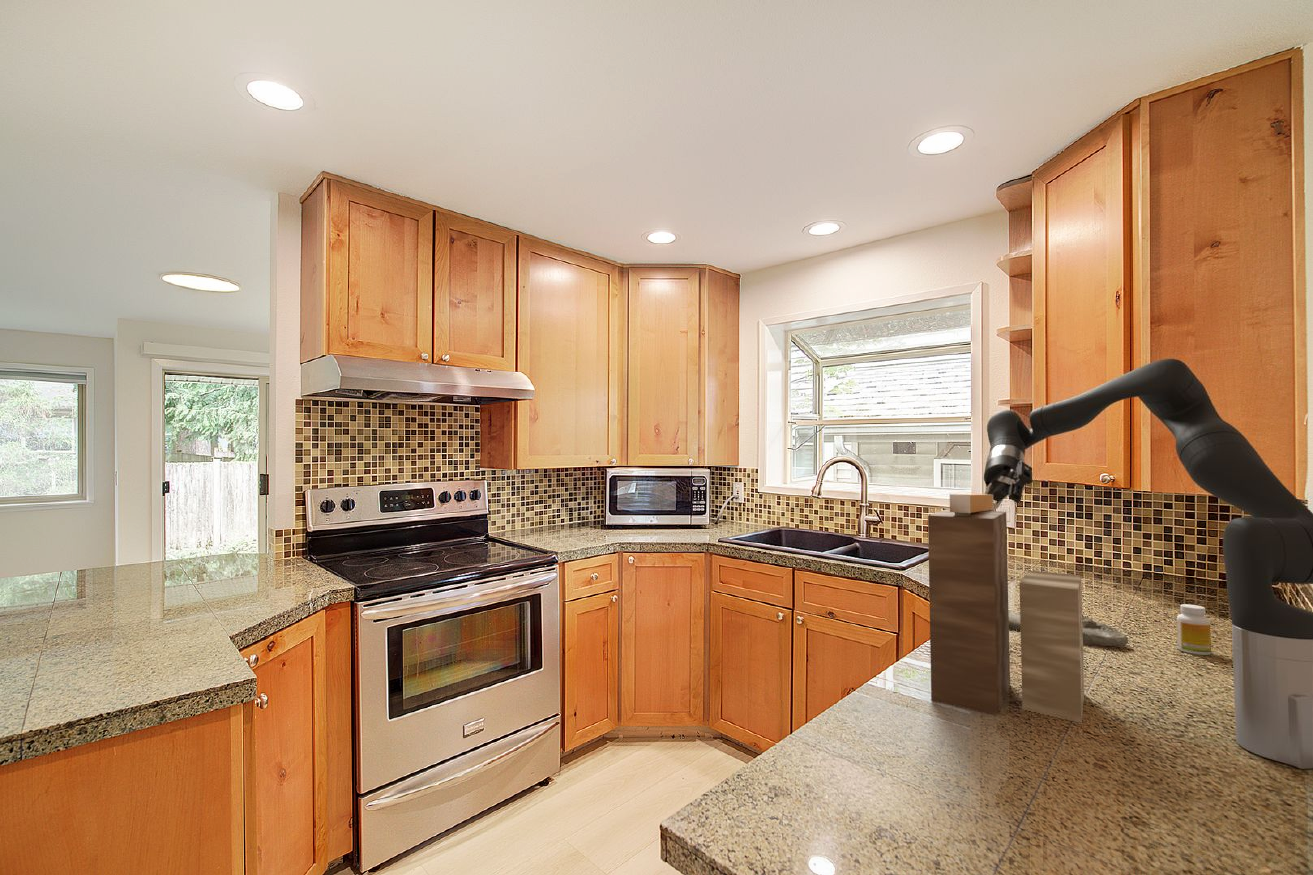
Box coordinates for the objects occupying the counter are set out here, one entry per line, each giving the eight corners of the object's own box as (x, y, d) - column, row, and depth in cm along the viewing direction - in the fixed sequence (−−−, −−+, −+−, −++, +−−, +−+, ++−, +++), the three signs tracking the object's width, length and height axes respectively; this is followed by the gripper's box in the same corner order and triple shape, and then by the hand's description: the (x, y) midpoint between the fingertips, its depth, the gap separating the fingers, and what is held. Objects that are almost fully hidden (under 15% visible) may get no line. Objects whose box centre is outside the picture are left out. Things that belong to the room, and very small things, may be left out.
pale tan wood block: (976, 508, 122) (976, 494, 122) (993, 509, 120) (993, 494, 120) (949, 512, 101) (949, 494, 101) (969, 513, 99) (969, 494, 99)
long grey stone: (974, 617, 160) (956, 626, 154) (972, 598, 160) (954, 606, 154) (1134, 642, 133) (1121, 654, 126) (1132, 618, 133) (1118, 629, 127)
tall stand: (950, 673, 115) (947, 505, 116) (1010, 685, 109) (1006, 508, 110) (931, 700, 102) (927, 511, 103) (997, 715, 96) (992, 515, 97)
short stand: (1031, 684, 109) (1028, 570, 110) (1084, 694, 104) (1081, 575, 105) (1022, 709, 98) (1019, 583, 99) (1081, 722, 93) (1078, 589, 94)
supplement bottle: (1218, 656, 124) (1216, 609, 124) (1188, 654, 125) (1186, 608, 126) (1200, 648, 129) (1198, 603, 130) (1171, 646, 130) (1170, 602, 131)
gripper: (967, 477, 136) (958, 519, 124) (1013, 437, 126) (1008, 479, 115) (996, 496, 135) (989, 541, 123) (1045, 458, 125) (1043, 502, 114)
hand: (998, 511), depth 119 cm, fingers open, 8 cm apart
